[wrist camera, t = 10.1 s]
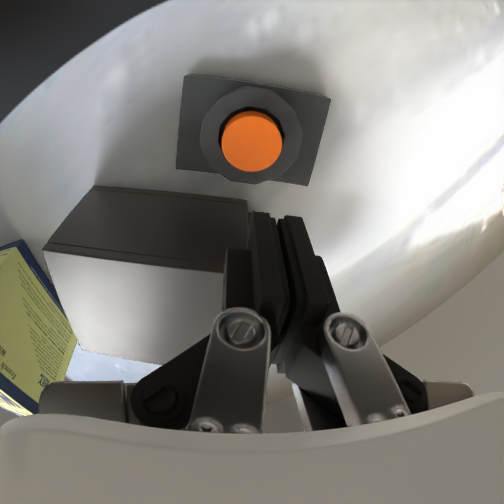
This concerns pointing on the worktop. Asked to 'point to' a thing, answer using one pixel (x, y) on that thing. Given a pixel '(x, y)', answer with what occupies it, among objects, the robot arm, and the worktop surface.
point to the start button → (251, 141)
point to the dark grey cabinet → (144, 269)
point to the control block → (239, 100)
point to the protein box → (29, 331)
